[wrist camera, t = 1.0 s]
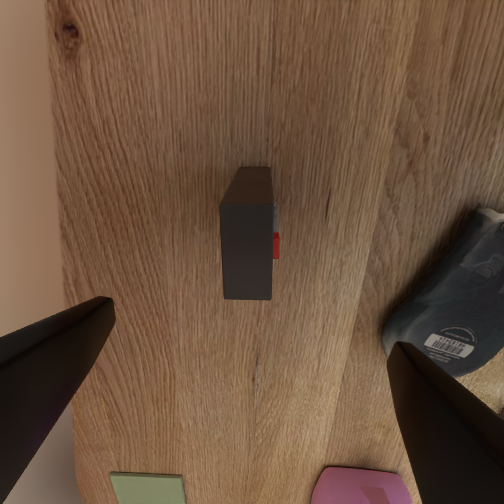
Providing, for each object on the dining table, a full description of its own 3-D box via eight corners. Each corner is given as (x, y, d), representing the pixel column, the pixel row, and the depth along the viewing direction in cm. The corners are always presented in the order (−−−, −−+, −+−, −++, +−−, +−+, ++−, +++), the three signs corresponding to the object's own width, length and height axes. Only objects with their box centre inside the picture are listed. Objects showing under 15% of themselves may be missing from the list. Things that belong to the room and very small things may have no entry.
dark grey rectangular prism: (240, 227, 22) (223, 300, 13) (239, 166, 21) (218, 203, 12) (273, 227, 22) (278, 301, 13) (274, 166, 21) (282, 204, 11)
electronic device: (440, 191, 22) (359, 353, 26) (510, 204, 17) (395, 404, 21) (530, 225, 24) (442, 370, 28) (618, 246, 19) (494, 420, 23)
